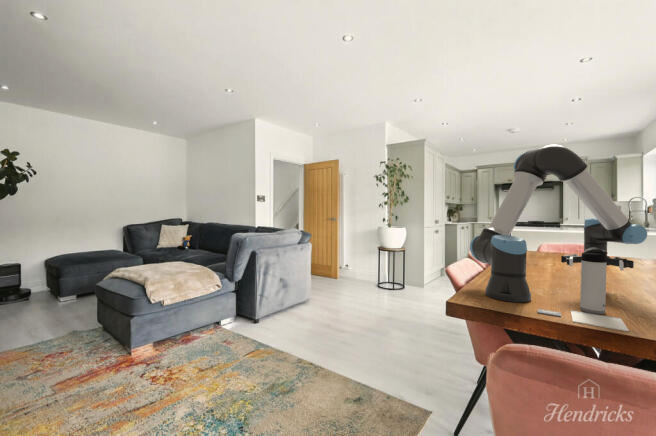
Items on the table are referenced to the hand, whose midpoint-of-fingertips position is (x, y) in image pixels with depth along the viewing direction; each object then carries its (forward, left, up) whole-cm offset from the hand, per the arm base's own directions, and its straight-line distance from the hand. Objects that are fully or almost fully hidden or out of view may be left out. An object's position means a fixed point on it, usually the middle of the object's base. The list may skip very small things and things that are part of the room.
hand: (595, 264), depth 107 cm
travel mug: (+6, -8, -15) cm, 18 cm away
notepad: (+14, -16, -14) cm, 25 cm away
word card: (+6, -25, -14) cm, 29 cm away
